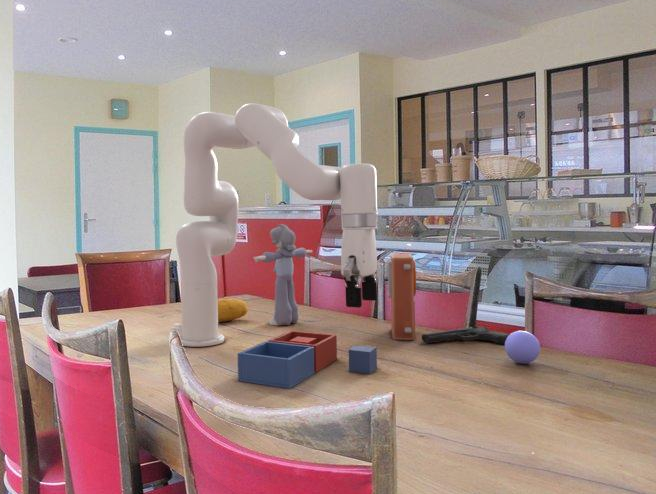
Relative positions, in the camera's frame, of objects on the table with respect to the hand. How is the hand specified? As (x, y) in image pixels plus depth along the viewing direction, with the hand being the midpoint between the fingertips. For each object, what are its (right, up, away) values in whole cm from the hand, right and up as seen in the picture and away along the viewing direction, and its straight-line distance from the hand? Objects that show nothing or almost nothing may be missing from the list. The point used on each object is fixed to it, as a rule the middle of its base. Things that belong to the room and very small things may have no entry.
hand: (362, 303), depth 122 cm
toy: (-14, -14, +52) cm, 56 cm away
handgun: (+31, -13, +23) cm, 41 cm away
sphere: (+35, -14, +3) cm, 38 cm away
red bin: (-12, -14, +7) cm, 20 cm away
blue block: (0, -14, 0) cm, 14 cm away
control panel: (+17, -14, +33) cm, 40 cm away
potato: (-31, -14, +58) cm, 67 cm away
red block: (-12, -14, +7) cm, 20 cm away
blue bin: (-18, -15, -4) cm, 24 cm away
